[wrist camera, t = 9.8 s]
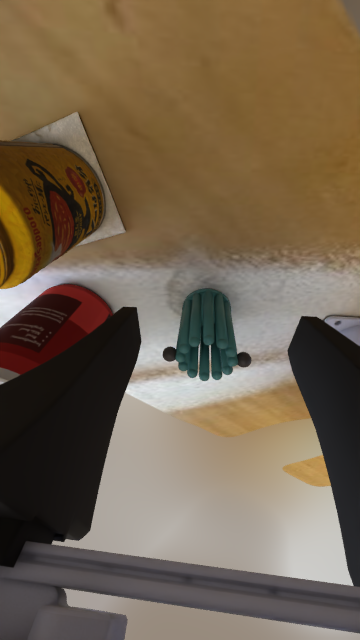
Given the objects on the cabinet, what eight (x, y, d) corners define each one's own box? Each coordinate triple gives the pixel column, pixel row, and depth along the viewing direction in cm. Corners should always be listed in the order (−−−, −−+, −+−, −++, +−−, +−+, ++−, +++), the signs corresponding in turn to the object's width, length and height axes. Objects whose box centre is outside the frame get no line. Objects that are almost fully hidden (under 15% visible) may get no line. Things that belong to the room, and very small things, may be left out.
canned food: (94, 352, 27) (38, 450, 18) (31, 311, 24) (-73, 403, 15) (132, 319, 23) (86, 420, 14) (63, 265, 20) (-50, 351, 11)
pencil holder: (244, 290, 20) (236, 330, 22) (172, 286, 20) (173, 325, 23) (259, 342, 14) (246, 386, 17) (160, 335, 15) (162, 379, 17)
